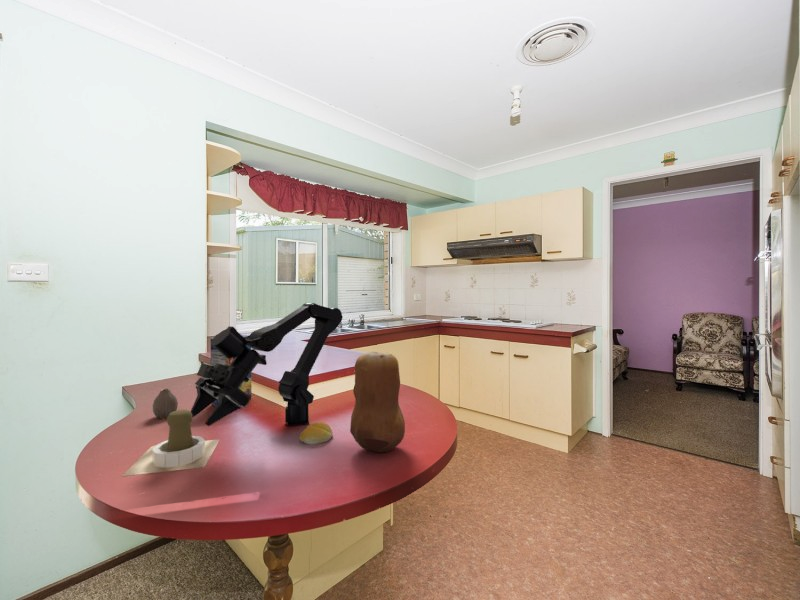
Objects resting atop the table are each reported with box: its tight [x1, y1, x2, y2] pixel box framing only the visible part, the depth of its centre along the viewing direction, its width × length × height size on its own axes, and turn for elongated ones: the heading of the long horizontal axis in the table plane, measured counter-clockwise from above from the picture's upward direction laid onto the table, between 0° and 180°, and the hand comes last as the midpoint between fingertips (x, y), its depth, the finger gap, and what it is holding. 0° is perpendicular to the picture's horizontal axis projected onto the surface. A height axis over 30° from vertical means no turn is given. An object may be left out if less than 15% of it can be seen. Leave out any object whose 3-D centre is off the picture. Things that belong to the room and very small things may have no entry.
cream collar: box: [152, 435, 206, 468], centre depth 87 cm, size 10×10×3 cm
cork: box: [166, 409, 194, 452], centre depth 87 cm, size 6×6×11 cm
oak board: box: [122, 439, 221, 477], centre depth 88 cm, size 16×16×1 cm
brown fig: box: [152, 388, 179, 419], centre depth 119 cm, size 7×7×9 cm
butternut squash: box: [349, 351, 406, 454], centre depth 93 cm, size 14×13×25 cm
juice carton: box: [210, 334, 253, 407], centre depth 135 cm, size 12×8×24 cm, turn 161°
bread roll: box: [299, 421, 333, 445], centre depth 100 cm, size 8×9×4 cm
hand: (198, 420), depth 90 cm, fingers open, 9 cm apart
